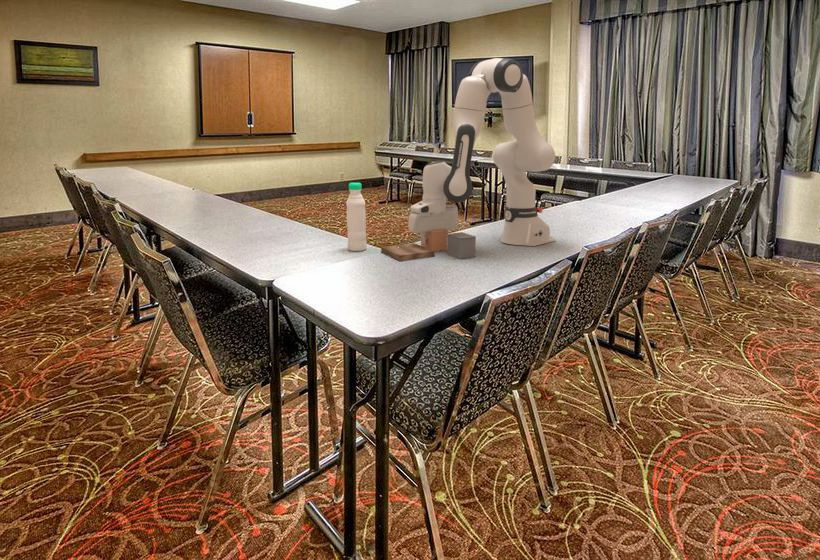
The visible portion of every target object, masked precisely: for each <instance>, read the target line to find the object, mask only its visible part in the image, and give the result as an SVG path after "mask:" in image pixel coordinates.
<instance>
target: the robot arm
mask: <svg viewBox="0 0 820 560" xmlns="http://www.w3.org/2000/svg"><path fill="white" fill-rule="evenodd" d="M467 75H468V76H466V77H464V78H463V79H462V80H460V83H459V85H458V86H459V87H458V90H457V93H456V97H455V100H454V101H455V102H454V109H453V115H452V116H453V119H452V122H453V124H452V126H453V133H454V151H453V156H452V157H453V158H452V162H451V163H452V164H451V165H449V164H447V163H446V162H445V161H443V160H437V161H433V162H428V163H427V164H426V165H425V166H424V168H423V172H422V182H421V183H422V185H421V187H422V189H423V194H422V200H421V201H419V202H417V203H415V204H412V205H410V209H409V210H410V211H411V212H410V214H409V217H408V231H409V232H410V233H412V234H419V236H420V239H421V238H422V243H423V244H427V243H428V239H426V238H425V236H424V235H425V233H426V232H429V231H434V230H443V229H444V230H447V234H449V230H456V229H458V227H459V214H458V213H459V208H458V206H457V205H456V204H447V200H448V201H450V202H453V203H462V202H465V201H467V200H468V199H469V198H470V197H471V195H472V192H473V183H472V178H471V176H470V175H471V173H470V172H471V171H470V170H471V163H472V158H473V150H474V147H475V144H476V142H477V139H478V137H479V135H480V133H481V130H482V127H483V124H484V122H485V121H484V120H485V117H486V110H487V102H488V99H489V96H490V95H491V94H492V93H494V94H495V93H498V94H499V95H500V97H501V107H502V108H501V109H502V117H503V124H504V129H505V130H506V131H507V133H509V134H510V135H512V136H513V137H514V138H515V141H513V140H512V141H511V140H509V141H505V142H501V143H498V144H497V145H496V146H495V148H494V149H493V150H494V151H493V155H492V160H493V163H494V165H495V166H496V167H497V168H498V169H499V171H500V172H501V174H502V176H503V178H504V181H505V182H504V183H505V187H506V188H505V189H506V198H505V199H506V203H505V204H506V205H505V206H504V225H503V230H502V234H501V237H500V243H504V244H508V245H512V246H513V245H514V246H527V247H528V246H529V247H535V246H539V245H540V246H541V245H544V244H549V243H553V242H556V238H555V237H554V236H551V231H550V229H551V228H550V226H549V224H547V223H546V221H544V220H543V219H542V218H541V217H539V215H538V213H540V214H542V213H543V212H544V209H543V208H542V207H536V205H535V204H536V192H537V191H536V189H537V188H536V186H535V184H534V183H533V182H531V181H530V180H529V178H528V177H527V176H528V175H527V174H526V172H533V173H538V172H544V171H548V170H550V169H551V168H552V167H553V165H554V163H555V160H556V152H555V150H554V146H552V145H551V144H550V143H549V142H547V141H546V139H544V137H543V136H542V134H541V132H540V130H539V129H538V126H537V123H536V119H535V112H534V111H535V110H534V102H533V95H532V94H533V93H532V90H531V85H530V82H529V79H528V77H527V75H526V74H524V73H523V70H522V67H521V64H520V63H519V62H518V61H516V60H515V59H513V58H508V57H507V58H506V57H505V58H502V57H494V58H491V59H483V60H479V61H477V62H476V63H475V64H473V66H471V68H470V70H469V73H468V74H467Z"/></svg>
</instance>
